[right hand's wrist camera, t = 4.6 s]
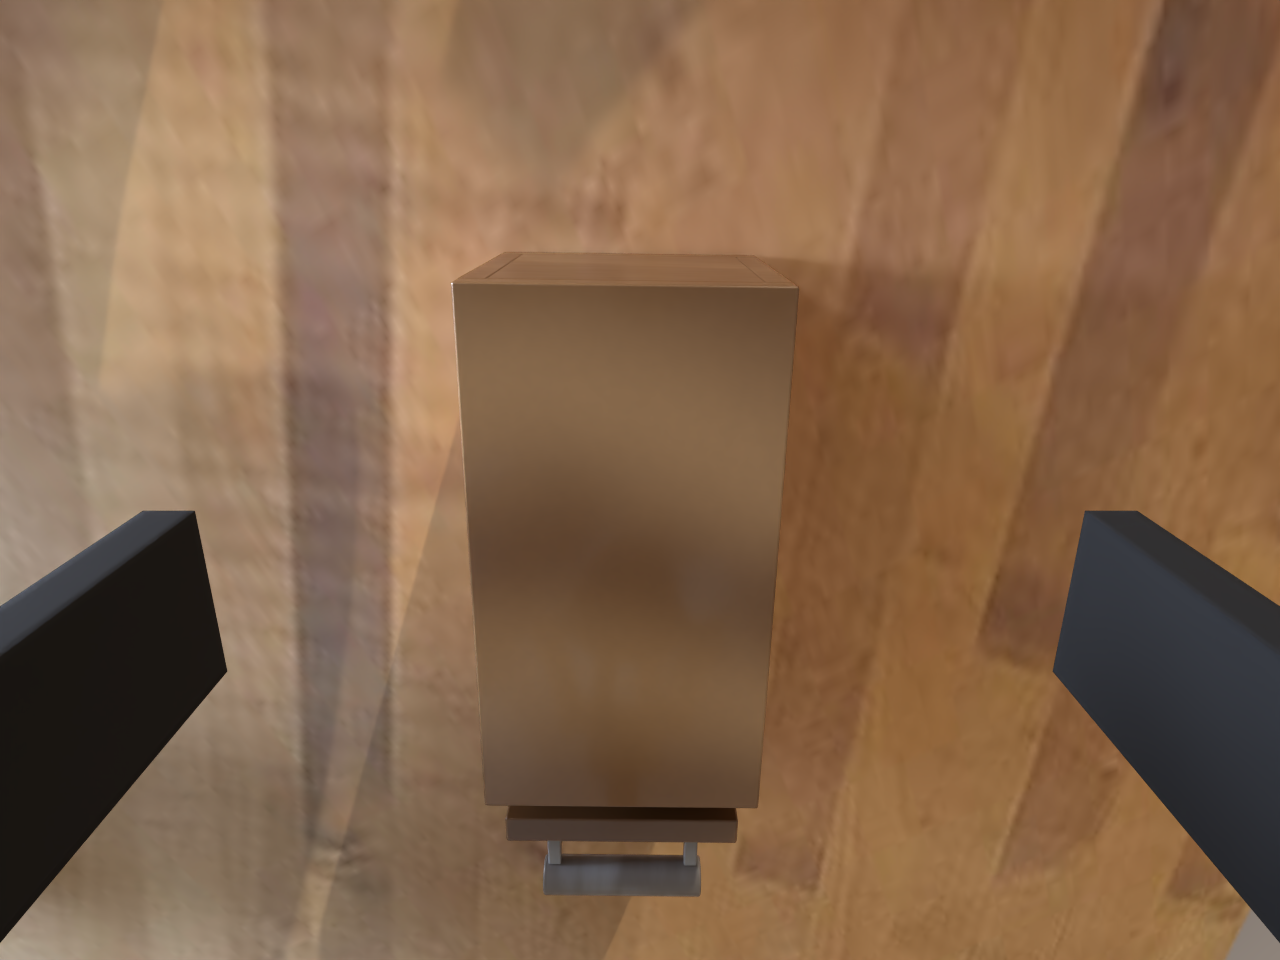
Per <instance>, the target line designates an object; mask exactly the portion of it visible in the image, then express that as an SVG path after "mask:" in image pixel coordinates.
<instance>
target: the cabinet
mask: <svg viewBox="0 0 1280 960" xmlns="http://www.w3.org/2000/svg"><path fill="white" fill-rule="evenodd" d="M451 287H452V302H453V318H454V333H455V349H456V364H457V379H458V395H459V410H460V426H461V441H462V456H463V472H464V487H465V503H466V518H467V534H468V549H469V564H470V580H471V595H472V611H473V626H474V642H475V657H476V672H477V688H478V703H479V719H480V734H481V750H482V765H483V780H484V796H485V804H486V805H510V806H602V807H695V808H757V807H758V800H759V788H760V775H761V762H762V750H763V737H764V725H765V712H766V699H767V687H768V674H769V662H770V649H771V636H772V624H773V611H774V599H775V586H776V573H777V561H778V548H779V536H780V523H781V510H782V498H783V485H784V473H785V460H786V447H787V435H788V422H789V410H790V397H791V385H792V372H793V359H794V347H795V334H796V322H797V309H798V296H799V287H798V286H797V285H795V284H794V283H793V282H791V281H790V280H788V279H787V278H786V277H784V276H783V275H781V274H780V273H778V272H777V271H775V270H774V269H773V268H771V267H770V266H768V265H767V264H765V263H764V262H763V261H761V260H760V259H758V258H757V257H755V256H745V255H674V254H603V253H532V252H504V253H502V254H500V255H498V256H497V257H495V258H493V259H491V260H490V261H488V262H486V263H484V264H482V265H481V266H479V267H477V268H475V269H474V270H472V271H470V272H468V273H466V274H465V275H463V276H461V277H459V278H458V279H456V280H455V281H453V282H452V283H451Z"/></svg>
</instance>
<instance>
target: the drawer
mask: <svg viewBox="0 0 1280 960" xmlns="http://www.w3.org/2000/svg"><path fill="white" fill-rule="evenodd" d="M737 827H738V819H737V812H736V808H695V807H602V806H510V805H508V810H507V815H506V834H507V840H515V841H548V854H546V857H545V862H544V874H543V891H544V894H545V895H588V896H685V897H699V896H700V893H701V866H700V858H699V856H698V855H697V842H704V843H735V842H736V840H737ZM562 841H609V842H684V846H683V855H620V854H562Z"/></svg>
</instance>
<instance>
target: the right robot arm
mask: <svg viewBox="0 0 1280 960" xmlns="http://www.w3.org/2000/svg"><path fill="white" fill-rule="evenodd" d="M226 672H227V668H226V663H225V658H224V653H223V648H222V643H221V638H220V633H219V628H218V623H217V618H216V613H215V608H214V603H213V598H212V593H211V588H210V583H209V578H208V573H207V569H206V564H205V559H204V554H203V549H202V544H201V539H200V534H199V529H198V524H197V519H196V514H195V511H142V512H140V513H139V514H137V515H136V516H134V517H133V518H131V519H130V520H129V521H127V522H126V523H124V524H123V525H121V526H120V527H118V528H117V529H115V530H114V531H112V532H111V533H109V534H108V535H106V536H105V537H103V538H102V539H100V540H99V541H97V542H96V543H94V544H93V545H91V546H90V547H88V548H87V549H85V550H84V551H82V552H81V553H79V554H78V555H76V556H75V557H73V558H72V559H70V560H69V561H67V562H66V563H64V564H63V565H61V566H60V567H58V568H57V569H55V570H54V571H52V572H51V573H49V574H48V575H46V576H45V577H43V578H42V579H40V580H39V581H37V582H36V583H34V584H33V585H31V586H30V587H28V588H27V589H25V590H24V591H22V592H21V593H19V594H18V595H16V596H15V597H14V598H12V599H11V600H9V601H8V602H6V603H5V604H3V605H2V606H0V942H1V941H2V940H3V939H4V938H5V936H6V935H7V934H8V933H9V932H10V930H11V929H12V928H13V927H14V926H15V924H16V923H17V922H18V921H19V920H20V919H21V917H22V916H23V915H24V914H25V913H26V911H27V910H28V909H29V908H30V907H31V905H32V904H33V903H34V902H35V901H36V899H37V898H38V897H39V896H40V895H41V893H42V892H43V891H44V890H45V889H46V887H47V886H48V885H49V884H50V883H51V881H52V880H53V879H54V878H55V877H56V875H57V874H58V873H59V872H60V871H61V870H62V868H63V867H64V866H65V865H66V864H67V862H68V861H69V860H70V859H71V858H72V856H73V855H74V854H75V853H76V852H77V850H78V849H79V848H80V847H81V846H82V844H83V843H84V842H85V841H86V840H87V838H88V837H89V836H90V835H91V834H92V832H93V831H94V830H95V829H96V828H97V826H98V825H99V824H100V823H101V822H102V821H103V819H104V818H105V817H106V816H107V815H108V813H109V812H110V811H111V810H112V809H113V807H114V806H115V805H116V804H117V803H118V801H119V800H120V799H121V798H122V797H123V795H124V794H125V793H126V792H127V791H128V789H129V788H130V787H131V786H132V785H133V783H134V782H135V781H136V780H137V779H138V777H139V776H140V775H141V774H142V773H143V771H144V770H145V769H146V768H147V767H148V766H149V764H150V763H151V762H152V761H153V760H154V758H155V757H156V756H157V755H158V754H159V752H160V751H161V750H162V749H163V748H164V746H165V745H166V744H167V743H168V742H169V740H170V739H171V738H172V737H173V736H174V734H175V733H176V732H177V731H178V730H179V728H180V727H181V726H182V725H183V724H184V722H185V721H186V720H187V719H188V718H189V717H190V715H191V714H192V713H193V712H194V711H195V709H196V708H197V707H198V706H199V705H200V703H201V702H202V701H203V700H204V699H205V697H206V696H207V695H208V694H209V693H210V691H211V690H212V689H213V688H214V687H215V685H216V684H217V683H218V682H219V681H220V679H221V678H222V677H223V676H224V675H225V673H226ZM1053 672H1054V673H1055V675H1056V676H1057V677H1058V678H1059V679H1060V681H1061V682H1062V683H1063V684H1064V685H1065V687H1066V688H1067V689H1068V690H1069V691H1070V693H1071V694H1072V695H1073V696H1074V697H1075V699H1076V700H1077V701H1078V702H1079V703H1080V705H1081V706H1082V707H1083V708H1084V709H1085V711H1086V712H1087V713H1088V714H1089V715H1090V717H1091V718H1092V719H1093V720H1094V721H1095V722H1096V724H1097V725H1098V726H1099V727H1100V728H1101V730H1102V731H1103V732H1104V733H1105V734H1106V736H1107V737H1108V738H1109V739H1110V740H1111V742H1112V743H1113V744H1114V745H1115V746H1116V748H1117V749H1118V750H1119V751H1120V752H1121V754H1122V755H1123V756H1124V757H1125V758H1126V760H1127V761H1128V762H1129V763H1130V764H1131V766H1132V767H1133V768H1134V769H1135V770H1136V771H1137V773H1138V774H1139V775H1140V776H1141V777H1142V779H1143V780H1144V781H1145V782H1146V783H1147V785H1148V786H1149V787H1150V788H1151V789H1152V791H1153V792H1154V793H1155V794H1156V795H1157V797H1158V798H1159V799H1160V800H1161V801H1162V803H1163V804H1164V805H1165V806H1166V807H1167V809H1168V810H1169V811H1170V812H1171V813H1172V815H1173V816H1174V817H1175V818H1176V819H1177V821H1178V822H1179V823H1180V824H1181V825H1182V826H1183V828H1184V829H1185V830H1186V831H1187V832H1188V834H1189V835H1190V836H1191V837H1192V838H1193V840H1194V841H1195V842H1196V843H1197V844H1198V846H1199V847H1200V848H1201V849H1202V850H1203V852H1204V853H1205V854H1206V855H1207V856H1208V858H1209V859H1210V860H1211V861H1212V862H1213V864H1214V865H1215V866H1216V867H1217V868H1218V870H1219V871H1220V872H1221V873H1222V874H1223V875H1224V877H1225V878H1226V879H1227V880H1228V881H1229V883H1230V884H1231V885H1232V886H1233V887H1234V889H1235V890H1236V891H1237V892H1238V893H1239V895H1240V896H1241V897H1242V898H1243V899H1244V901H1245V902H1246V903H1247V904H1248V905H1249V907H1250V908H1251V909H1252V910H1253V911H1254V913H1255V914H1256V915H1257V916H1258V917H1259V918H1260V920H1261V921H1262V922H1263V923H1264V924H1265V926H1266V927H1267V928H1268V929H1269V930H1270V932H1271V933H1272V934H1273V935H1274V936H1275V938H1276V939H1277V940H1278V941H1279V942H1280V606H1278V605H1277V604H1275V603H1274V602H1272V601H1271V600H1269V599H1268V598H1266V597H1265V596H1264V595H1262V594H1261V593H1259V592H1258V591H1256V590H1255V589H1253V588H1252V587H1250V586H1249V585H1247V584H1246V583H1244V582H1243V581H1241V580H1240V579H1238V578H1237V577H1235V576H1234V575H1232V574H1231V573H1229V572H1228V571H1226V570H1225V569H1223V568H1222V567H1220V566H1219V565H1217V564H1216V563H1214V562H1213V561H1211V560H1210V559H1208V558H1207V557H1205V556H1204V555H1202V554H1201V553H1199V552H1198V551H1196V550H1195V549H1193V548H1192V547H1190V546H1189V545H1187V544H1186V543H1184V542H1183V541H1181V540H1180V539H1178V538H1177V537H1175V536H1174V535H1172V534H1171V533H1169V532H1168V531H1166V530H1165V529H1163V528H1162V527H1160V526H1159V525H1157V524H1156V523H1154V522H1153V521H1151V520H1150V519H1148V518H1147V517H1146V516H1144V515H1143V514H1141V513H1140V512H1138V511H1085V514H1084V519H1083V524H1082V529H1081V534H1080V539H1079V544H1078V549H1077V554H1076V559H1075V564H1074V569H1073V573H1072V578H1071V583H1070V588H1069V593H1068V598H1067V603H1066V608H1065V613H1064V618H1063V623H1062V628H1061V633H1060V638H1059V643H1058V648H1057V653H1056V658H1055V663H1054V668H1053Z"/></svg>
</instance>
